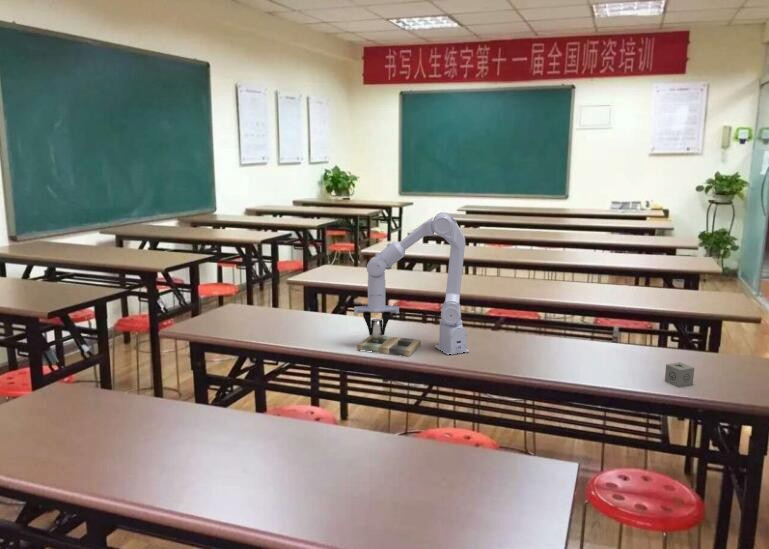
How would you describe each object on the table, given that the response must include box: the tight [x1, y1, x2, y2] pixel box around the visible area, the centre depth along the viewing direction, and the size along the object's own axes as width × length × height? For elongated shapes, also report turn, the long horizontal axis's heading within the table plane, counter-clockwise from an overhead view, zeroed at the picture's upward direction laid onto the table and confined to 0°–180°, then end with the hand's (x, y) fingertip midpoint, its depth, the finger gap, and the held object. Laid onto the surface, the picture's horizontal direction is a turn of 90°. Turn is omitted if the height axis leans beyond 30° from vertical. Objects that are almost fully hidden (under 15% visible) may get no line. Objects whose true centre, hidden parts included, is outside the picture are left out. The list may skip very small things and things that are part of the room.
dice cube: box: [664, 361, 695, 388], centre depth 173 cm, size 5×5×5 cm
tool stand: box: [357, 335, 422, 358], centre depth 204 cm, size 18×12×2 cm
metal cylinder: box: [371, 318, 383, 344], centre depth 205 cm, size 4×4×8 cm
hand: (376, 334), depth 205 cm, fingers closed on metal cylinder, 4 cm apart
